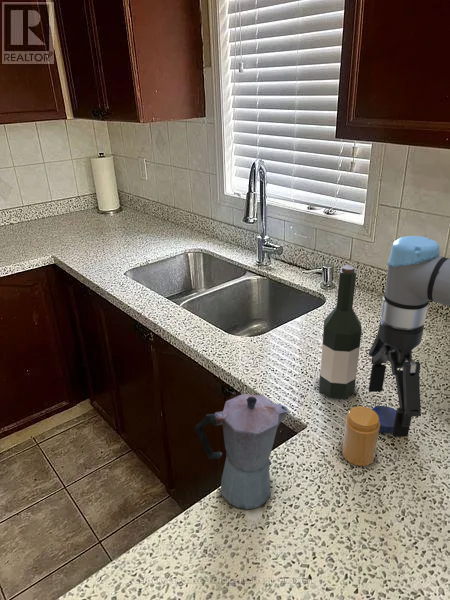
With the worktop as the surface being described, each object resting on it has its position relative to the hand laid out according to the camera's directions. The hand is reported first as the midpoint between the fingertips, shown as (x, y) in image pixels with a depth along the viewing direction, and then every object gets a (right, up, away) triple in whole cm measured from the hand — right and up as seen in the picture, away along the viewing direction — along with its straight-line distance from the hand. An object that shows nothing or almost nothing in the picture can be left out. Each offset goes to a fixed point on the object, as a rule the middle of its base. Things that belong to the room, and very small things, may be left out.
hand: (386, 411), depth 91 cm
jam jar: (-8, -7, -6) cm, 12 cm away
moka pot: (-30, -11, -13) cm, 34 cm away
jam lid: (0, -1, +1) cm, 1 cm away
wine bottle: (-7, +2, +12) cm, 14 cm away
